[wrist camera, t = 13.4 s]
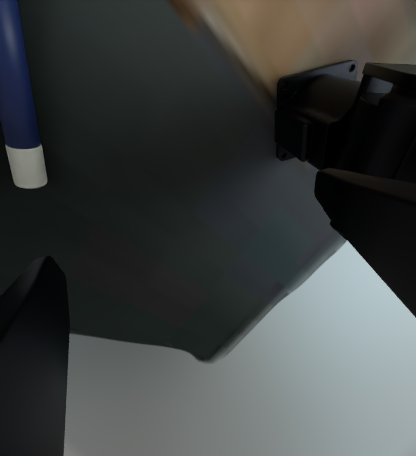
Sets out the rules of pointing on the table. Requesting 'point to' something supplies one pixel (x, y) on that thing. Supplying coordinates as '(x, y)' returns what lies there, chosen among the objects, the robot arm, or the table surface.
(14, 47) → the navy marker
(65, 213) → the table surface
